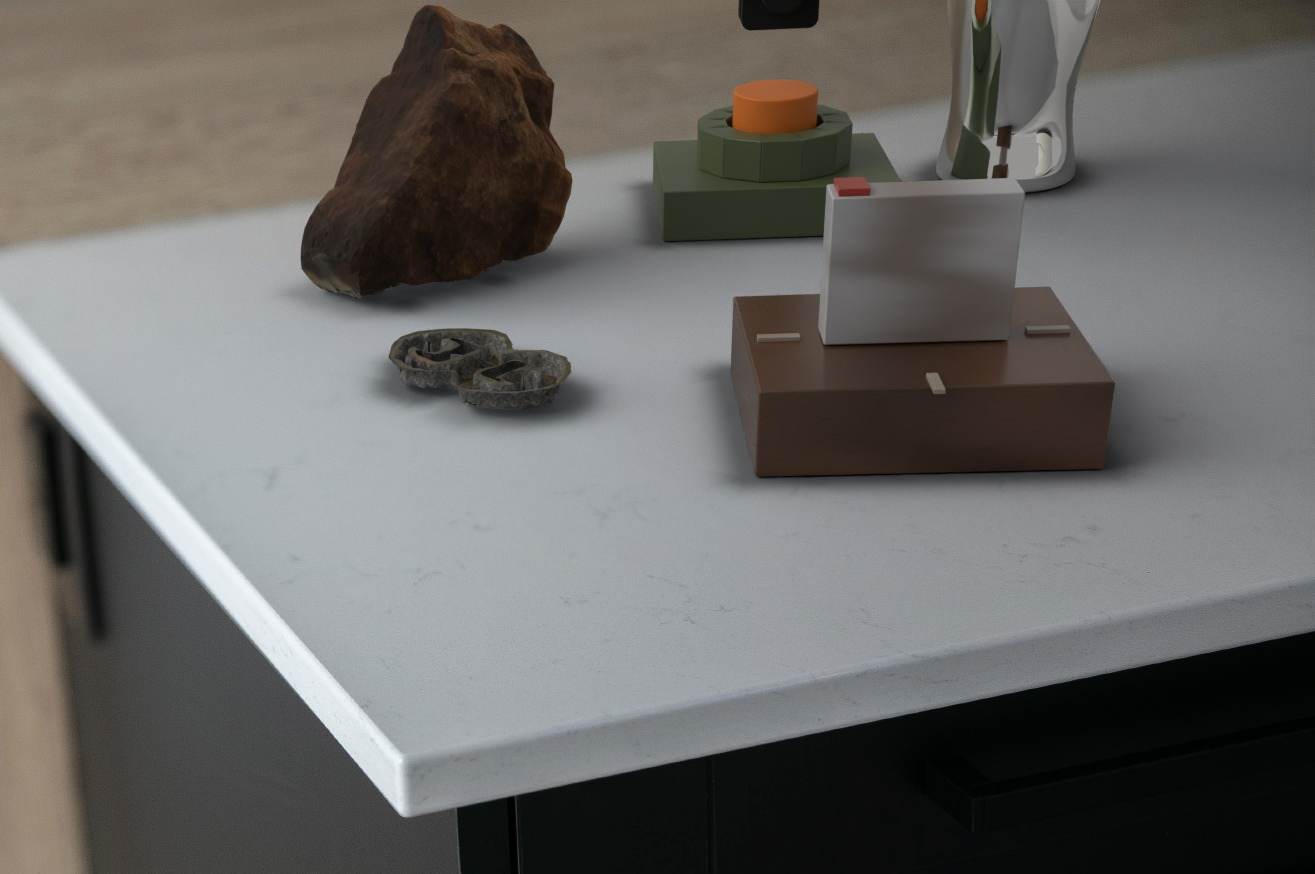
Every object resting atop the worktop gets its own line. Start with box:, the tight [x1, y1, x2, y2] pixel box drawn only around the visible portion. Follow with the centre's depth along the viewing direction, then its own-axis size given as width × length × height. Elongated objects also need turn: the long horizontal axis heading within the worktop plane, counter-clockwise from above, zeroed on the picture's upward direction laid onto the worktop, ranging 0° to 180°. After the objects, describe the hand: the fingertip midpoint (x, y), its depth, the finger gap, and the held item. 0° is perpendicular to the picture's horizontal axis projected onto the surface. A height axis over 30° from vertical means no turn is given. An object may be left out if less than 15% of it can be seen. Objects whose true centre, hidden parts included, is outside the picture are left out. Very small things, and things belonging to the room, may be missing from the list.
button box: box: [652, 104, 902, 242], centre depth 88 cm, size 10×8×4 cm
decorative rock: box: [299, 4, 573, 299], centre depth 81 cm, size 12×6×11 cm, turn 120°
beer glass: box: [935, 0, 1101, 193], centre depth 87 cm, size 7×7×15 cm
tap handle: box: [818, 177, 1026, 345], centre depth 65 cm, size 6×2×5 cm, turn 85°
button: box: [732, 79, 819, 134], centre depth 87 cm, size 4×4×2 cm
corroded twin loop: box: [388, 327, 572, 410], centre depth 73 cm, size 5×8×1 cm, turn 38°
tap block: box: [730, 286, 1116, 478], centre depth 67 cm, size 11×10×3 cm
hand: (777, 24), depth 85 cm, fingers closed
